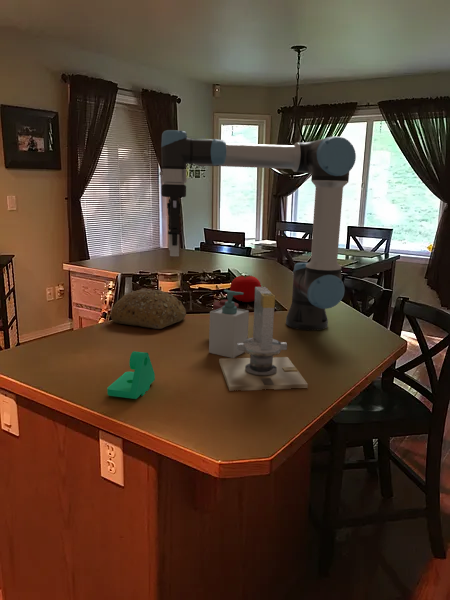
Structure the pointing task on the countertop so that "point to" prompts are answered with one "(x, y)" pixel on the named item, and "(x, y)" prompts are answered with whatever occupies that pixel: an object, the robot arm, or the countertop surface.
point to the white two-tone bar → (263, 327)
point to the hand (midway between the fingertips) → (173, 253)
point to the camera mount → (134, 378)
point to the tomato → (245, 287)
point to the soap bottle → (228, 328)
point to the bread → (148, 309)
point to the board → (242, 380)
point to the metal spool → (261, 366)
